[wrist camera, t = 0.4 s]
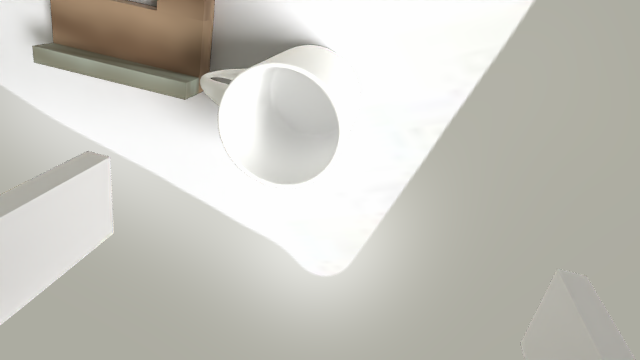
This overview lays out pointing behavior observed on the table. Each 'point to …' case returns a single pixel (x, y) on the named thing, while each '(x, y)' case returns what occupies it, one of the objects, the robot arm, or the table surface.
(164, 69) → the jig
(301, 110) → the mug
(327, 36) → the table surface
